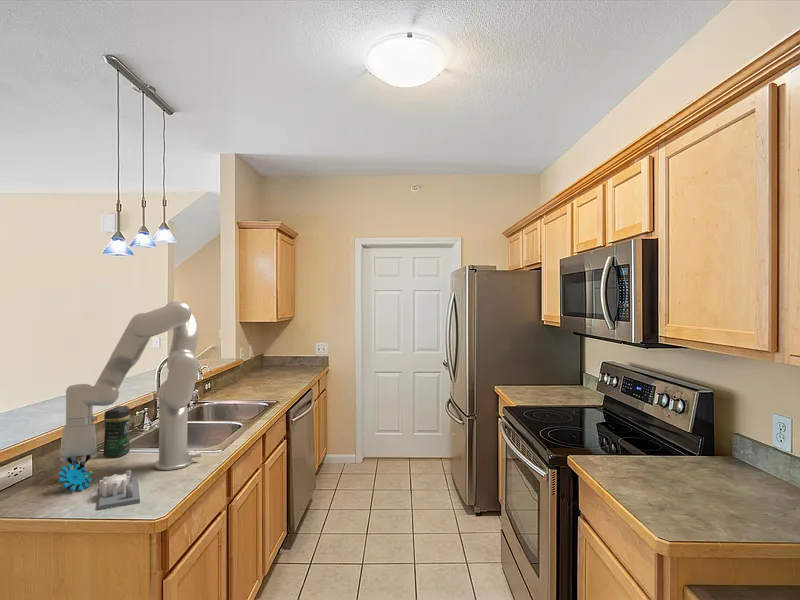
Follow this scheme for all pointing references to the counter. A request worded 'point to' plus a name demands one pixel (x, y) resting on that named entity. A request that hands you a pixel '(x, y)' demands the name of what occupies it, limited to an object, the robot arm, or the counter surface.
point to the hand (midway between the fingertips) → (78, 476)
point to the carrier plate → (122, 497)
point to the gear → (74, 477)
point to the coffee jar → (116, 432)
